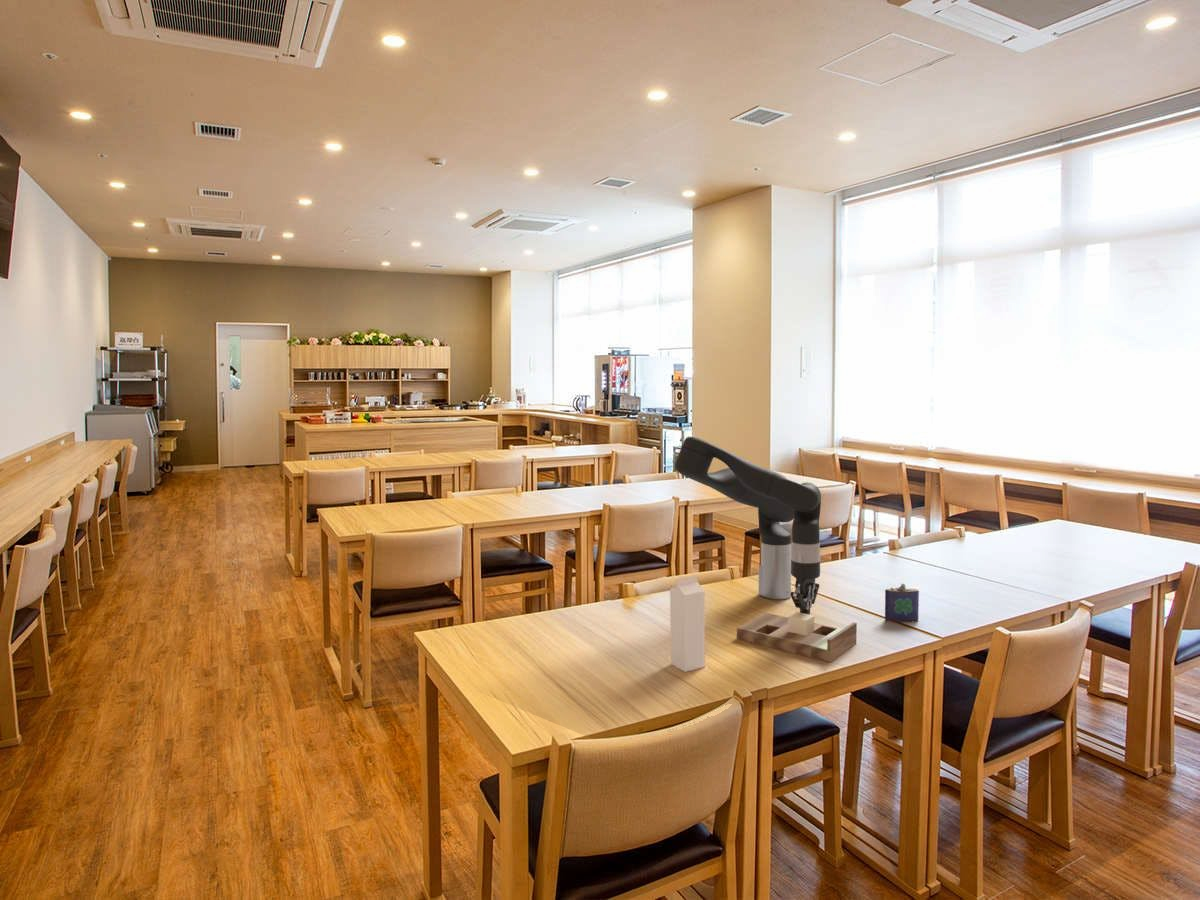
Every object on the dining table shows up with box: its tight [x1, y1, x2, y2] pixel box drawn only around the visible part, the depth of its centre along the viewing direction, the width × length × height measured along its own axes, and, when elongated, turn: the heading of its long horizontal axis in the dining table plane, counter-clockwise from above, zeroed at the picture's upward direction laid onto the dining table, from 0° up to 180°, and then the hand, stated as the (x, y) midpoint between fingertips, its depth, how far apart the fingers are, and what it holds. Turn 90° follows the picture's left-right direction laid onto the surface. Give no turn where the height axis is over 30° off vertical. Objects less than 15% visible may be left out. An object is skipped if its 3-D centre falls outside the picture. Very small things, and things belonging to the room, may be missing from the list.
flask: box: [884, 583, 920, 623], centre depth 206 cm, size 9×3×11 cm, turn 87°
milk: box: [669, 575, 706, 673], centre depth 177 cm, size 6×6×22 cm
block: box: [787, 611, 815, 636], centre depth 192 cm, size 5×5×4 cm
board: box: [736, 612, 858, 663], centre depth 193 cm, size 26×16×6 cm, turn 49°
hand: (805, 621), depth 196 cm, fingers closed
